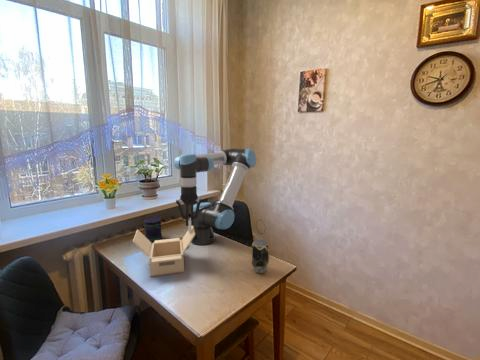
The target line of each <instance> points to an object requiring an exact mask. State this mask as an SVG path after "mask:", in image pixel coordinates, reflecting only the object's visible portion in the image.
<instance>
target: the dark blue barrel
mask: <svg viewBox="0 0 480 360" xmlns="http://www.w3.org/2000/svg"><path fill="white" fill-rule="evenodd" d="M143 222H144V223H143V227H144V236H145V237H146V238H147V239H148V240H149V241H150V242H151V245H152V243H154V242H155V240H163V235H162V234H163V233H162V219H161V217H158V216H152V217H146V218H144V220H143Z"/></svg>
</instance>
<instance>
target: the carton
mask: <svg viewBox="0 0 480 360" xmlns="http://www.w3.org/2000/svg"><path fill="white" fill-rule="evenodd" d="M184 261H185V259H184V252H183V248H182V240H180V238H179V237H176V238H175V237H173V238H167V239H166V238H165V239H162V240H155V242H154V243H152V244H151V248H150V254H149V270H150V272H149V273H150V278H153V277H160V276H161V277H162V276H167V275H174V274H181V273H184V272H185V265H184V264H185V263H184Z"/></svg>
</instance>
